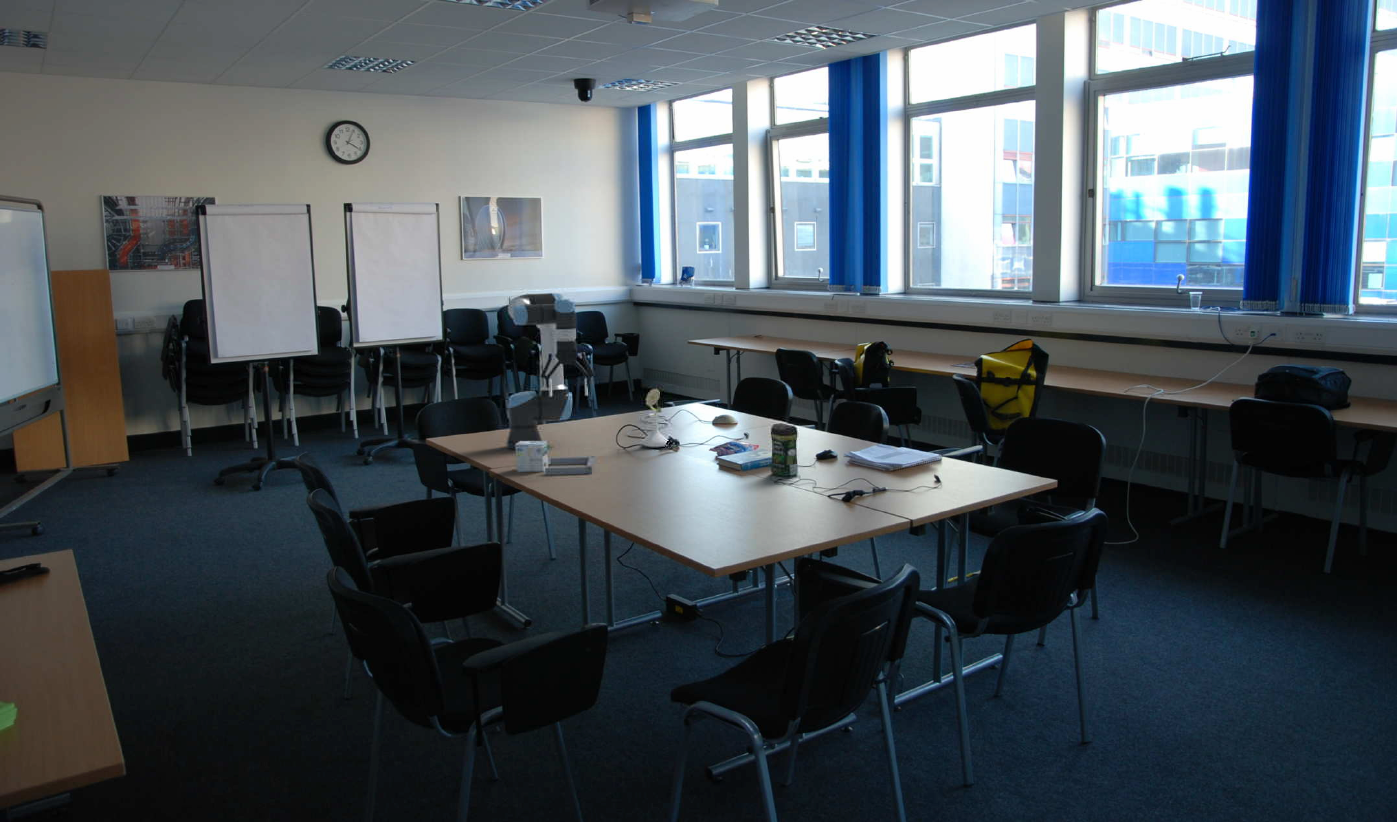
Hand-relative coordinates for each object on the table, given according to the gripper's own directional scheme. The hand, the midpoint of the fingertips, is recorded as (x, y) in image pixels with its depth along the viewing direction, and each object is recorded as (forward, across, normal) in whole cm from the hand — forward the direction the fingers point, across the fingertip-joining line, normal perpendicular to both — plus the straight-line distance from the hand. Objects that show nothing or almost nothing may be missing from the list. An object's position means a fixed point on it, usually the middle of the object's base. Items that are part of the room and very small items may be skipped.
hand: (568, 395), depth 371 cm
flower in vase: (+27, +32, +32) cm, 53 cm away
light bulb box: (+27, -14, -7) cm, 32 cm away
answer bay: (+27, 0, -7) cm, 28 cm away
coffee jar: (+28, +79, -27) cm, 88 cm away
